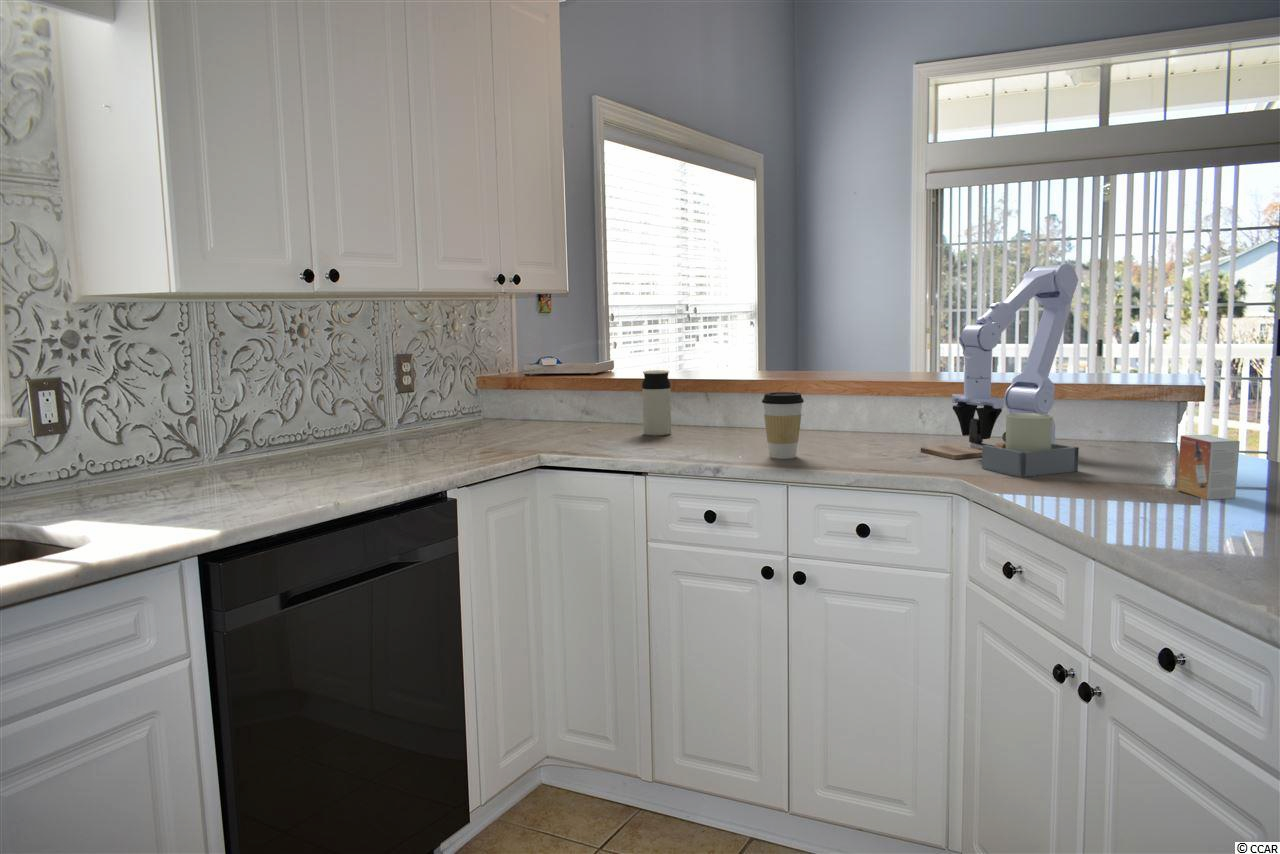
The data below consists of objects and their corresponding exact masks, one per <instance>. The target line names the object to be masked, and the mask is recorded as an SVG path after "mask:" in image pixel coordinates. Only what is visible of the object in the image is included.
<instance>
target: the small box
mask: <svg viewBox="0 0 1280 854" xmlns="http://www.w3.org/2000/svg"><path fill="white" fill-rule="evenodd" d="M1178 453H1179V455H1178V456H1179V457H1178V470H1177V480H1176V491H1179V492H1183V493H1186V494H1188V495H1191V496H1195V497H1198V498H1201V499H1204V500H1206V501H1209V500H1229V499H1230V500H1232V499H1236V492H1237V491H1236V490H1237V479H1238V467H1239V454H1240V441H1239V440H1238V439H1229V438H1224V437H1219V436H1214V435H1210V434H1186V435H1183V434H1182V435H1180V441H1179V452H1178Z"/></svg>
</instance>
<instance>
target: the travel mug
mask: <svg viewBox="0 0 1280 854" xmlns="http://www.w3.org/2000/svg"><path fill="white" fill-rule="evenodd" d="M669 373H670V370H665V369H663V370H662V369H657V370H656V369H654V370H652V369H651V370H649V369H648V370H644V371H643V372H642V374H643V377H644V378H643V381H642V383H641V386H642V387H641V388H642V389H641V390H642V424H643V425H642V427H643V428H642V432H643V434H644V435H646V436H653V437H658V436H659V437H660V436H661V437H663V436H668V435H670V434H672V401H671V399H672V397H671V396H672V395H671V381H670V379H669Z"/></svg>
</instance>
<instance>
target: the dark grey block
mask: <svg viewBox="0 0 1280 854" xmlns="http://www.w3.org/2000/svg"><path fill="white" fill-rule="evenodd" d="M1001 436H1002V437H1001V438H1002V441H1003V442H1000V443H996V444H990V443H989V444H988V443H985V442H984V439H981V437H980V423H979V417H978V418H977V417H974V418H973V419H970V422H969V435H968V442H969V448H974V449H979V450H982V449H983V445H988V446H994V447H999V448H1004V449H1006V431H1004V432H1003V434H1002V435H1001Z"/></svg>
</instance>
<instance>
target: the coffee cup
mask: <svg viewBox="0 0 1280 854" xmlns="http://www.w3.org/2000/svg"><path fill="white" fill-rule="evenodd" d="M804 402H805V400H804V398H803V397H802V394H801V393H800V392H796V391H795V392H794V391H793V392H792V391H791V392H790V391H780V392H779V391H778V392H776V391H773V392H766V393H764V395H763V398H762V399H761V403H762V404H763V411H764V415H763V416H764V417H763V418H764V424H765V433H766V440H767V444H768V452H769V458H772V459H777V460H778V459H780V460H782V459H783V460H786V459H795V458H796V457H797V451H798V450H797V449H798V443H799V437H800V429H801V421H802V408H803V407H802V406H803V403H804Z"/></svg>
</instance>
